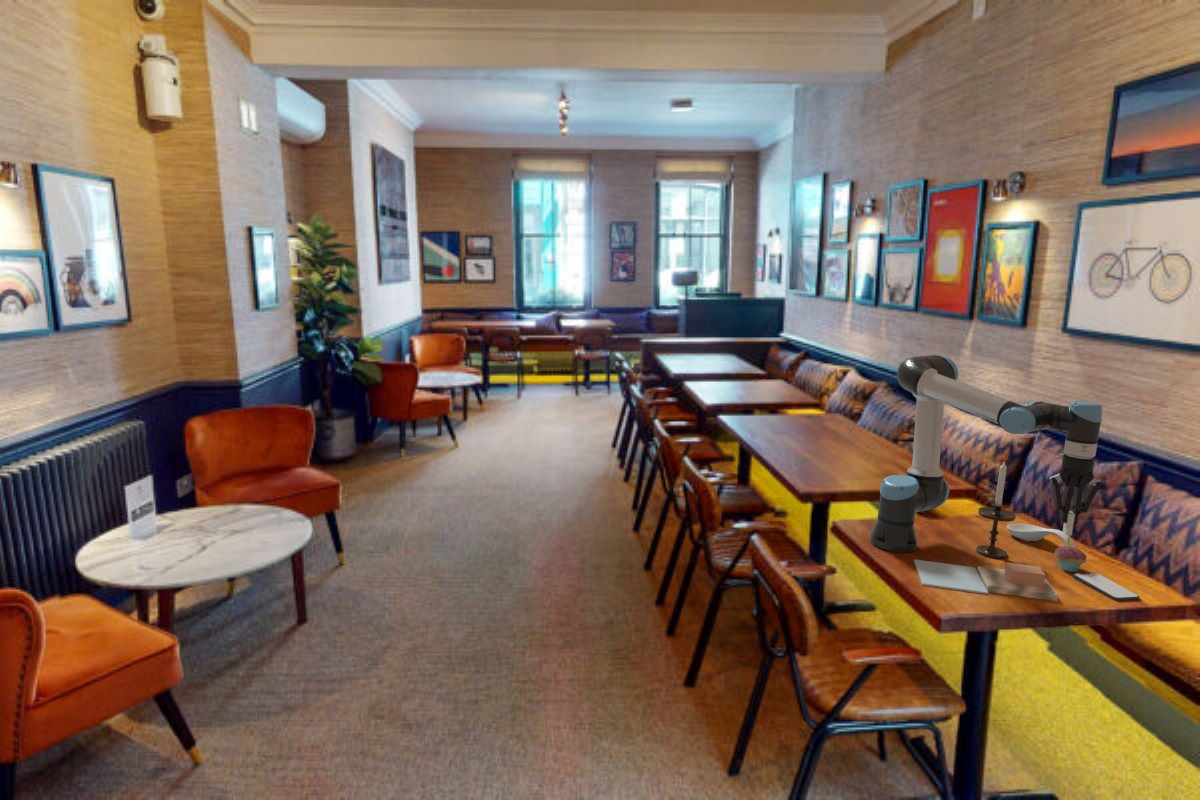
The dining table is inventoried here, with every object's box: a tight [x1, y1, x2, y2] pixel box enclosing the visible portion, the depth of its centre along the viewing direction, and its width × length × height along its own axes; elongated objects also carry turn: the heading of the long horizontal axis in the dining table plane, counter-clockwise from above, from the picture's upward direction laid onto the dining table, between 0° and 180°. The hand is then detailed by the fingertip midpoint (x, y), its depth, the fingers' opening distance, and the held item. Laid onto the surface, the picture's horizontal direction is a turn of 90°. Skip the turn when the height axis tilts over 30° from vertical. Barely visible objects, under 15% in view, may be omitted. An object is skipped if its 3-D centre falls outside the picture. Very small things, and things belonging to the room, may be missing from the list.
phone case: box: [1072, 571, 1141, 602], centre depth 206 cm, size 9×2×16 cm
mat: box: [913, 559, 989, 595], centre depth 212 cm, size 18×18×1 cm
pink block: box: [1004, 561, 1047, 588], centre depth 205 cm, size 9×6×4 cm, turn 73°
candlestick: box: [975, 452, 1017, 560], centre depth 227 cm, size 11×11×35 cm
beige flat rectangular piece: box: [976, 565, 1059, 602], centre depth 206 cm, size 18×14×2 cm
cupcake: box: [1054, 535, 1087, 573], centre depth 218 cm, size 9×8×12 cm
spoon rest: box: [1006, 523, 1077, 548], centre depth 238 cm, size 24×12×7 cm, turn 19°
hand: (1067, 533), depth 200 cm, fingers closed
